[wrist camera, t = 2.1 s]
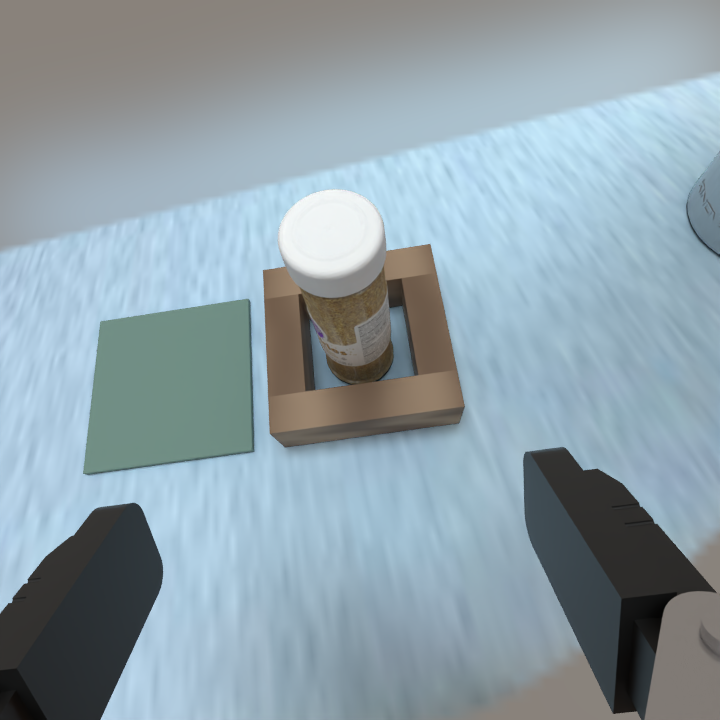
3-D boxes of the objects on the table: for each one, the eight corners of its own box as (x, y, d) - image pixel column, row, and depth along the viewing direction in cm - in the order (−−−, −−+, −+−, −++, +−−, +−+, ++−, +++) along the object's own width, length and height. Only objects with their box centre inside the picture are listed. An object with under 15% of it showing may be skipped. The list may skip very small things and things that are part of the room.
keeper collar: (428, 274, 34) (430, 244, 31) (459, 423, 30) (464, 406, 26) (277, 297, 34) (263, 270, 31) (285, 447, 30) (269, 433, 27)
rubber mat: (250, 301, 35) (248, 298, 34) (254, 451, 30) (252, 450, 30) (103, 324, 35) (100, 321, 35) (87, 474, 31) (83, 473, 30)
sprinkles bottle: (313, 356, 32) (252, 231, 20) (361, 312, 33) (331, 167, 21) (360, 401, 31) (326, 295, 18) (409, 354, 32) (407, 222, 19)
